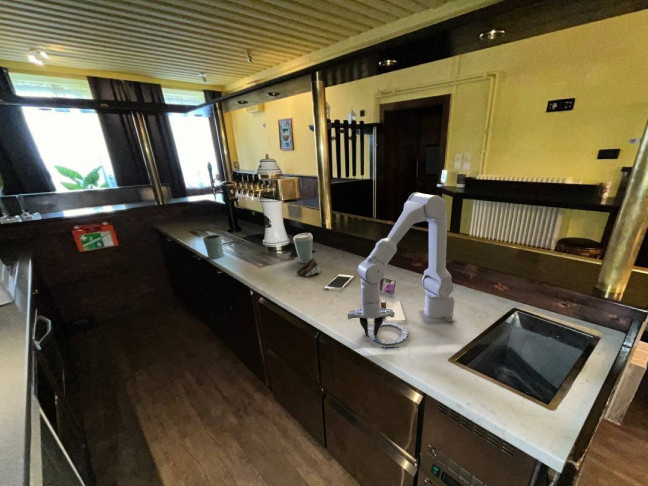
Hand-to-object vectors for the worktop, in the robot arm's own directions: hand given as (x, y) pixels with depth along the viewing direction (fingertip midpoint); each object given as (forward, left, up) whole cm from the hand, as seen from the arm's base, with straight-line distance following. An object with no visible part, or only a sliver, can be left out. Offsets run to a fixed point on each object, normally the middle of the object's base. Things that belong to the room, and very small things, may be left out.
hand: (371, 336), depth 98 cm
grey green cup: (+88, -93, -1) cm, 128 cm away
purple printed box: (-8, -33, -1) cm, 34 cm away
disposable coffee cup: (+32, -77, -1) cm, 83 cm away
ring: (-5, 0, 0) cm, 5 cm away
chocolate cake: (+27, -58, -1) cm, 63 cm away
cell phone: (+12, -45, 0) cm, 46 cm away
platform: (-5, -15, 0) cm, 15 cm away
